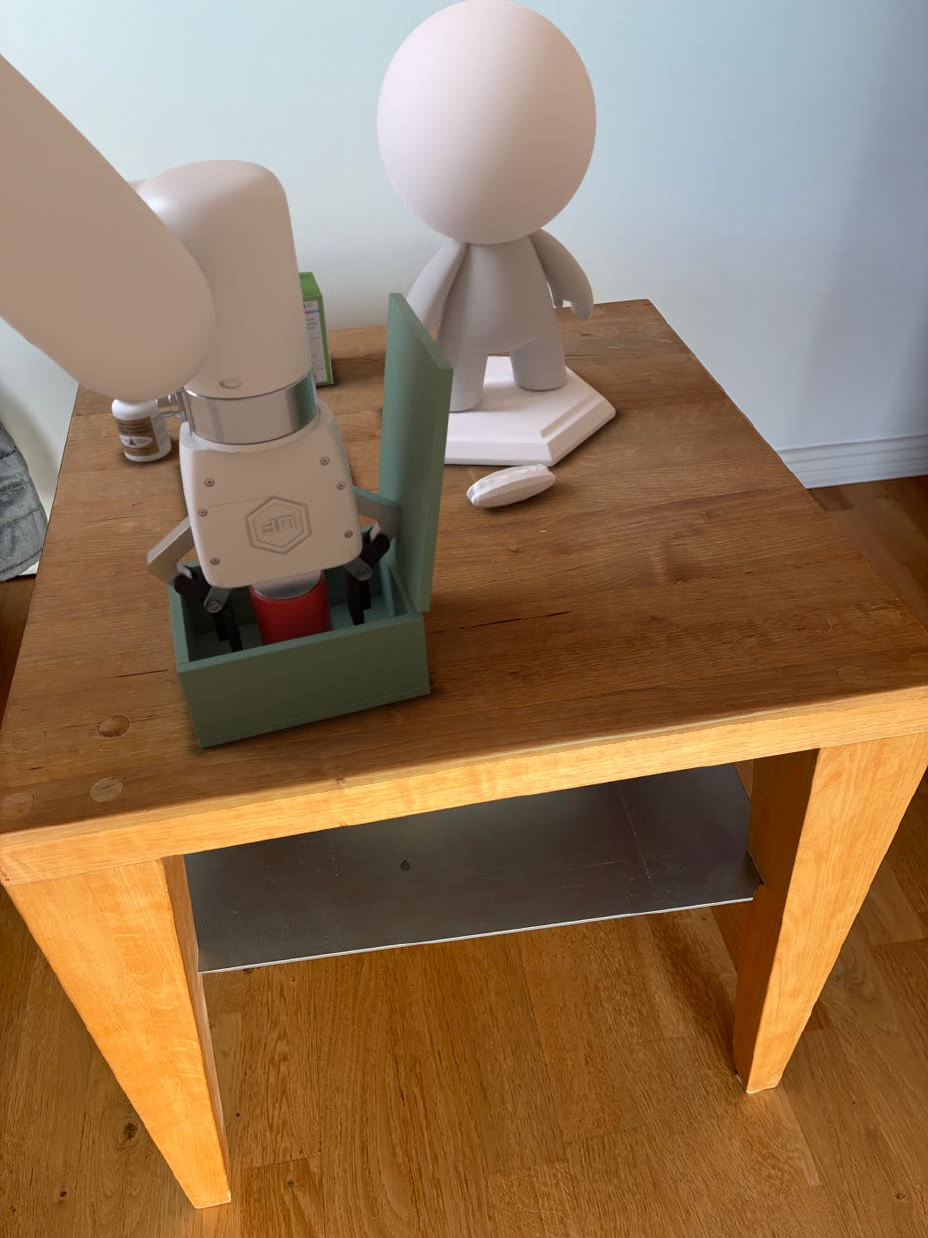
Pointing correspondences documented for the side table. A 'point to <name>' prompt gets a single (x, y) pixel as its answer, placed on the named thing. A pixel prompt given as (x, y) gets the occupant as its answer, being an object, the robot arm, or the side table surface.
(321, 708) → the storage box
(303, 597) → the can
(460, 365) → the white toy figurine
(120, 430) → the pill bottle
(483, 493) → the white oval capsule
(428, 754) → the side table surface
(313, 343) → the ink box
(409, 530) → the lid
